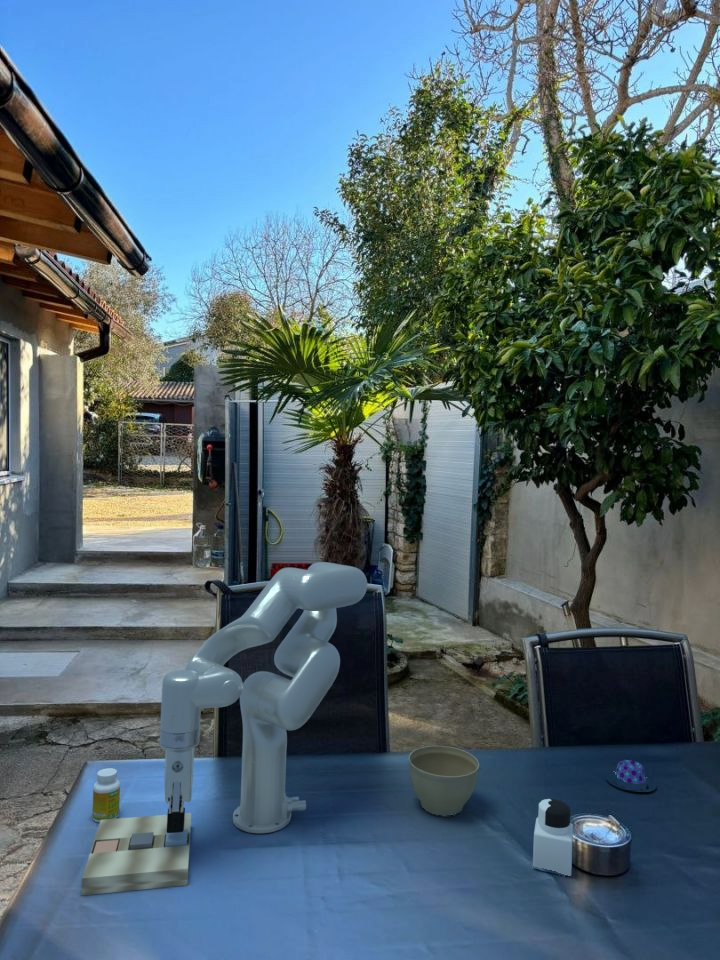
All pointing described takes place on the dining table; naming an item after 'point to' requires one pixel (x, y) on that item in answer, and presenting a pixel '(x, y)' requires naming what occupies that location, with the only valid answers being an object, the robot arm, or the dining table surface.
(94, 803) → the supplement bottle
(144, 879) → the keypad
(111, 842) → the key pink
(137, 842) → the key charcoal
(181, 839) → the key blue
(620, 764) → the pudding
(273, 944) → the dining table surface
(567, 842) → the medicine bottle
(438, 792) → the planter bowl
